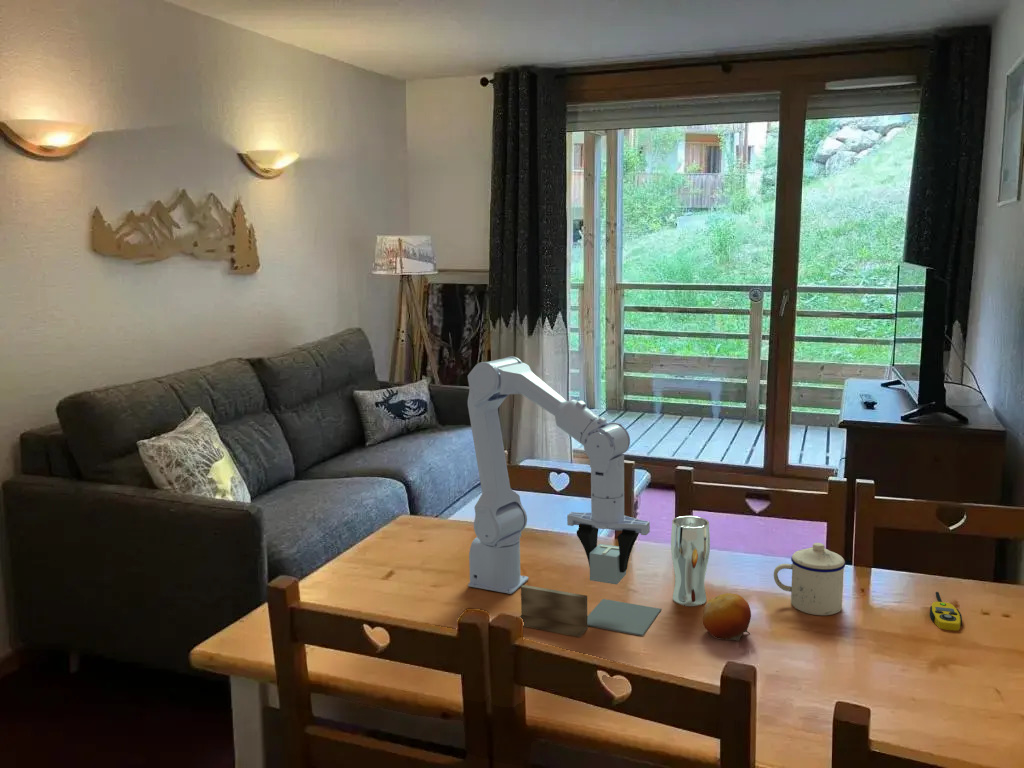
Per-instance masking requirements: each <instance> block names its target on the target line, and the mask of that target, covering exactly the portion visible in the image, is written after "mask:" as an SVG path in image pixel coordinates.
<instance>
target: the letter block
mask: <svg viewBox="0 0 1024 768" xmlns="http://www.w3.org/2000/svg"><path fill="white" fill-rule="evenodd" d="M619 562H620V553H619V545H611V544H603V543H598V544H597V547H595V548H594V549H593V550H592V551H591V552H590V567H589V581H592V582H598V583H603V584H604V583H605V584H610V585H619V583H620V582H621V581H622V580H623V578H624V577H625V576H626V575H627V570H626V571H625V572H624V573H622V572H620V569H619Z"/></svg>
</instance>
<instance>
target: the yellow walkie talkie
mask: <svg viewBox="0 0 1024 768" xmlns="http://www.w3.org/2000/svg"><path fill="white" fill-rule="evenodd" d="M935 596H936V599H937V601H933V602H932V604H931V605H930V607H929V618H930V620H931V621H932V623H934V624H935V626H936V627H938V628H939V629H941V630H946V631H955V632H956V631H959V630H960V629H961V626H962V621H963V617H962V614H961V612H960V610H959V608H956V607H955V606H954V605H953V604H951V603H950V602H943V601H942V598H941V595H940V593H939V591H935Z"/></svg>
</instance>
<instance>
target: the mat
mask: <svg viewBox="0 0 1024 768" xmlns="http://www.w3.org/2000/svg"><path fill="white" fill-rule="evenodd" d="M661 611H662V608H659V607H658V608H657V607H652V606H646V605H641V604H636V603H630V602H624V601H618V600H613V599H606V598H602V599H601V600H600V602H599V603H598V604H597V605H596V606H595V607H594V608H593V609H592V611H591V612H590V613H589V614H587V627H591V628H597V629H601V630H602V629H603V630H607V631H612V632H617V633H624V634H628V635H634V636H639V637H644V635H645V634H646V632H647V631H648V630H649V628H650V627H651V625H652V624H653V623H652V622H654V621H655V620H656V618H657V617H658V615H660V613H661Z"/></svg>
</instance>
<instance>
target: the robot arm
mask: <svg viewBox="0 0 1024 768" xmlns="http://www.w3.org/2000/svg"><path fill="white" fill-rule="evenodd" d="M467 382H468V387H469V390H468V391H469V392H468V396H467V409H468V415H469V420H470V427H471V433H472V439H473V446H474V452H475V456H476V463H477V470H478V475H479V480H480V481H479V482H480V487H481V495H480V497H479V498H478V501H477V502H476V503H475V505H474V513H475V515H474V520H473V530H474V533H475V536H476V537H475V538H473V540H472V541H471V544H470V547H469V553H468V554H469V555H468V559H469V583H468V585H467V586H468V587H470V588H474V589H475V588H476V589H480V590H482V589H483V590H486V591H493V592H498V593H503V594H508V595H509V594H510V595H512V594H513V593H515V592H516V591H517V590H518V589H519V588H521V586H522V585H525V583H527V581H528V580H529V576H526V575H521V545H520V544H521V543H520V542H521V537H522V531H523V530H525V529H526V527H527V523H528V515H527V512H526V510H525V508H524V507H523V505H522V502H521V497H520V494H518V493H517V492H516V491H515V490H513V489H512V488H511V484H510V482H511V481H510V476H509V472H508V466H507V458H506V452H505V447H504V441H503V440H504V439H503V433H502V428H501V422H500V421H501V420H500V416H499V407H500V406H501V405H502V404H503V402H504V401H505V400H506V398H507V397H508V396H510V395H522V396H523V397H525V398H527V399H528V400H529V401H531V402H532V403H534V404H536V405H537V406H539V407H540V408H542V409H543V410H545V411H546V412H548V413H549V414H552V416H554V418H555V419H554V420H555V424H556V426H557V427H558V428H559V429H561V430H562V431H563V432H565V433H566V434H567V435H568V436H570V437H572V438H573V439H574V440H575V441H577V442H578V443H580V444H581V445H582V446H583V449H584V453H585V454H586V456H587V457H588V459H589V468H590V499H591V501H590V503H591V504H590V508H591V512H578V511H577V512H574V511H571V512H569V513H568V514H567V518H566V519H567V523H566V524H567V526H569V527H574V526H578V527H577V528H578V529H577V530H576V536H577V538H578V540H579V541H580V543H581V545H582V547H583V549H584V552H585V554H586V558H587V562H588V566H589V567H588V568H590V552H591V551H592V550H593V549H594V548H595V547H597V546H598V535H599V530H600V529H601V530H611V531H612V530H613V531H619V532H620V531H621V532H620V534H618V536H617V544H618V546H619V553H620V562H619V569H620V572H622V573H624V572H625V571H626V572H627V569H628V564H629V560H630V556H631V553H632V550H633V548H634V545H635V543H636V541H637V539H638V536H639V535H641V536H647V535H648V534H650V532H651V531H650V530H651V529H650V528H651V524H650V523H651V522H650V521H649V520H643V519H639V518H635V517H632V516H631V517H630V516H628V515H625V455H624V454H625V453H626V452H628V450H629V448H630V444H631V438H630V434H629V432H628V430H627V429H626V427H624V426H623V425H622V423H619V422H615V421H612V422H608V420H607V419H606V418H605V417H603V416H600V415H598V414H596V412H594V411H593V410H591V409H590V408H588V407H587V403H586V402H585V401H584V400H577V399H570V400H566V399H565V398H564V397H563V396H561V395H560V393H558V392H557V391H556V390H554V389H553V388H552V387H550V386H549V384H547V382H545V381H544V380H543V379H541V378H540V377H539V376H538V375H536V374H535V373H534V372H533V371H532V369H531V367H530V365H529V364H527V363H525V362H523V361H522V360H521V359H520V358H519V357H516V356H512V355H511V356H507V357H504V358H499V359H494V360H490V361H489V360H488V361H481V362H478V363H476V364H475V366H474V367H473V368H472V369H471V371H469V373H468V375H467Z"/></svg>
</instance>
